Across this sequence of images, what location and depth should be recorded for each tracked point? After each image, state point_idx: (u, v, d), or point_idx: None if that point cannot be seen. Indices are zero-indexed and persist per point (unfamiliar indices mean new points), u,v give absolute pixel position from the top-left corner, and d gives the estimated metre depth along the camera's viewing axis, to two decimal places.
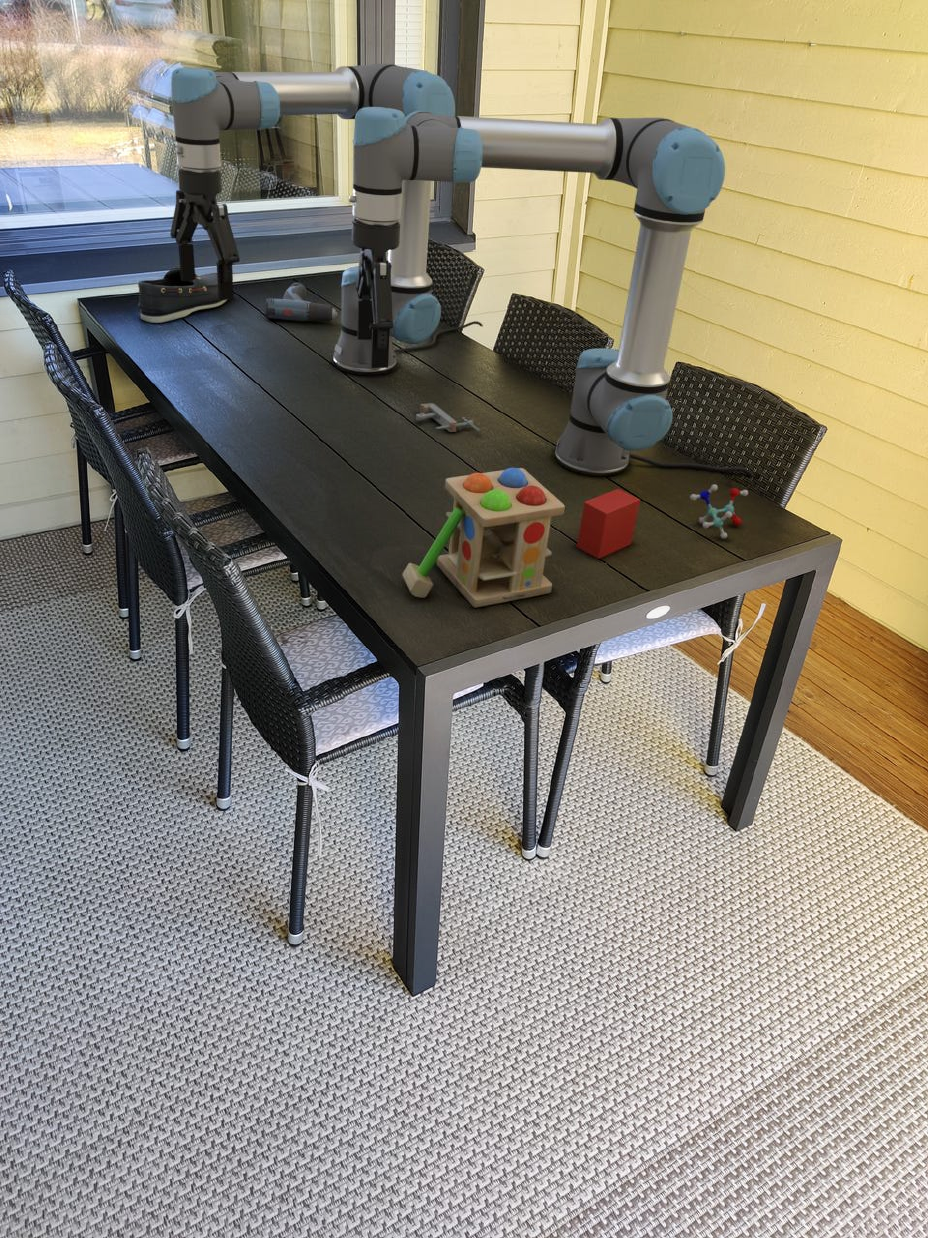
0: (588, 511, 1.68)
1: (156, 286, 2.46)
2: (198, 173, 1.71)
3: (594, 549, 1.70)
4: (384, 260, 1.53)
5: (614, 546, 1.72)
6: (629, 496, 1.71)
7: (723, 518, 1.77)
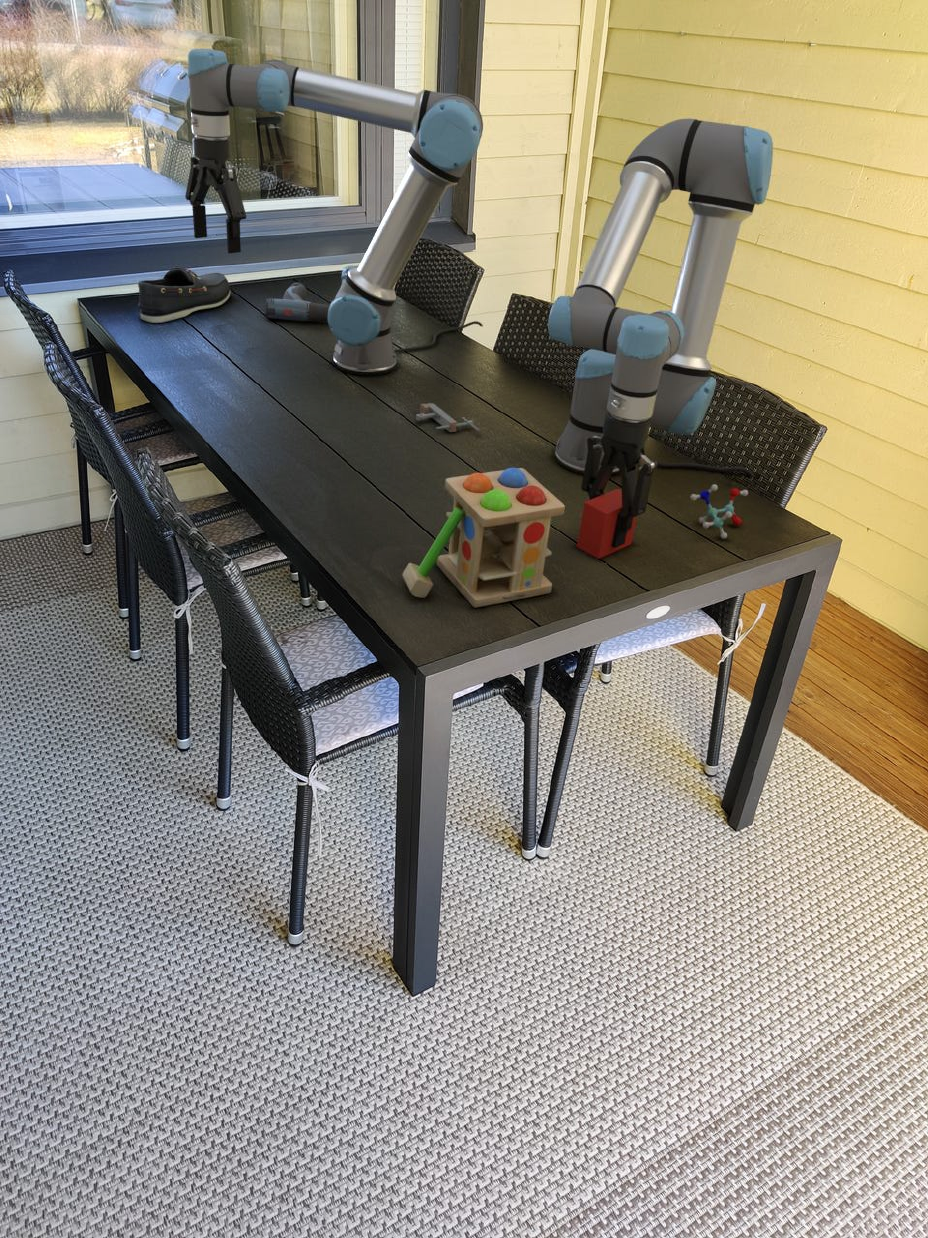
0: (588, 511, 1.68)
1: (156, 286, 2.46)
2: (211, 140, 1.97)
3: (594, 549, 1.70)
4: (644, 451, 1.61)
5: None
6: None
7: (723, 518, 1.77)
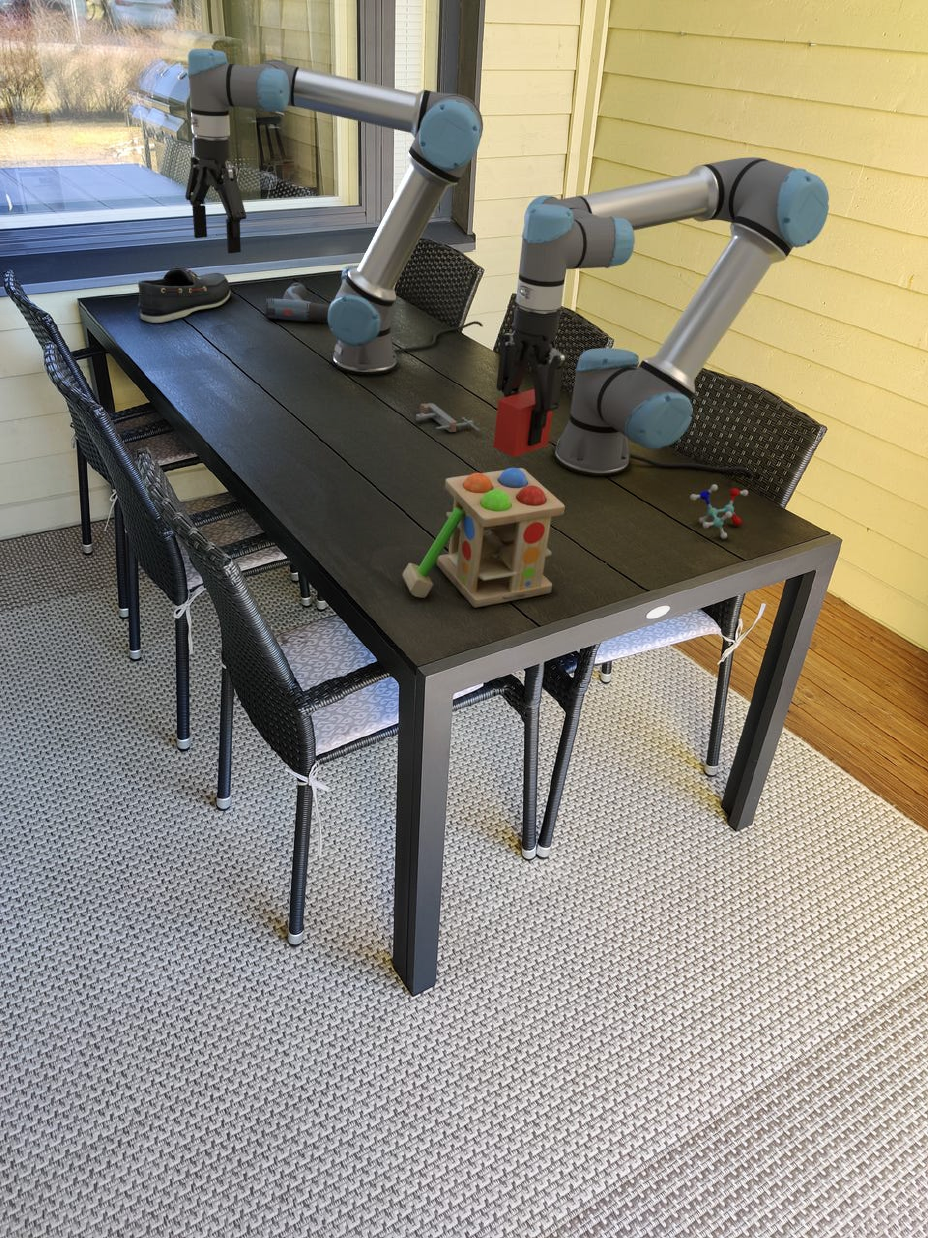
0: (502, 408, 1.69)
1: (156, 286, 2.46)
2: (211, 140, 1.97)
3: (510, 448, 1.71)
4: (554, 343, 1.62)
5: None
6: None
7: (723, 518, 1.77)
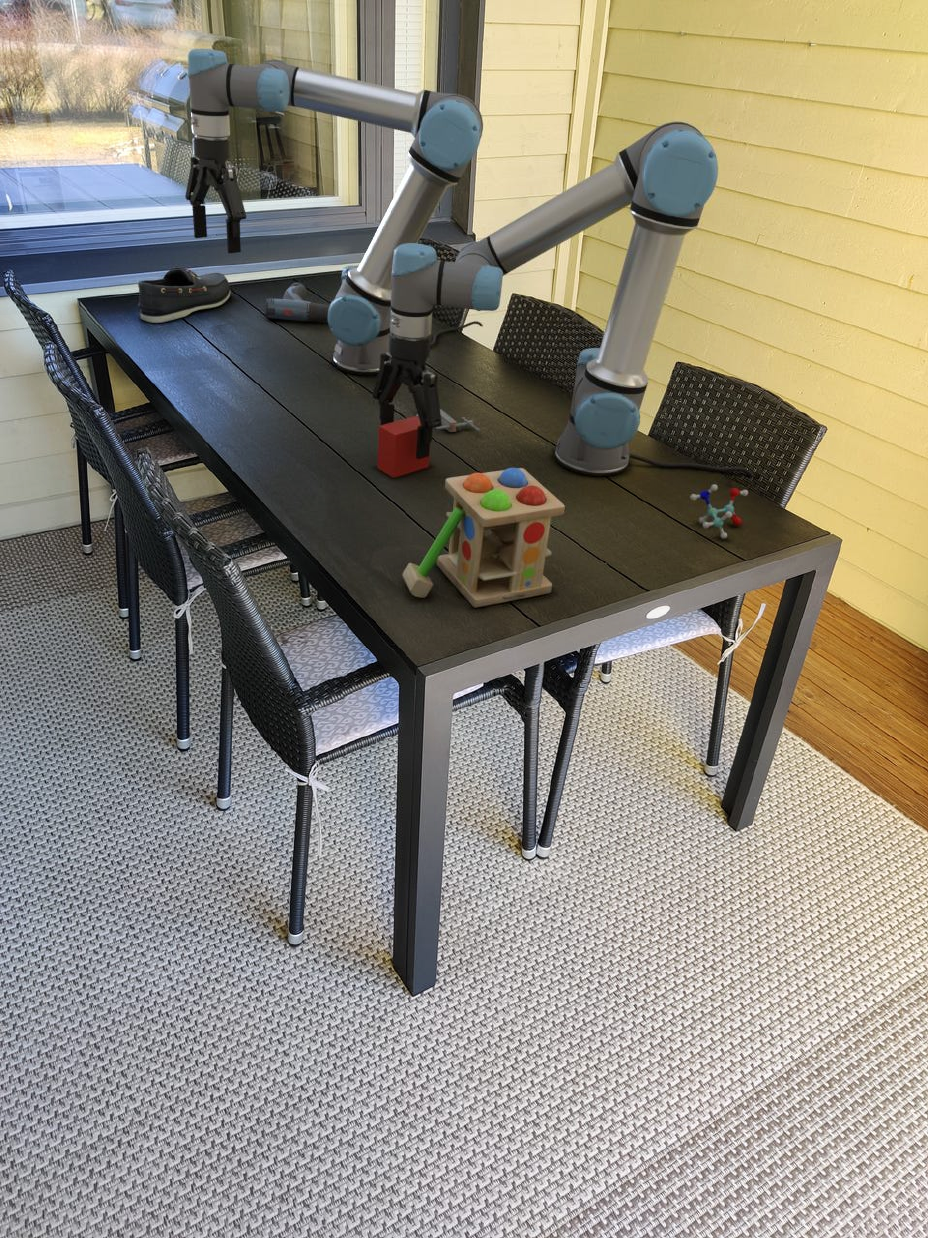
0: (382, 434, 1.87)
1: (156, 286, 2.46)
2: (211, 140, 1.97)
3: (390, 469, 1.89)
4: (425, 367, 1.79)
5: (410, 467, 1.91)
6: None
7: (723, 518, 1.77)
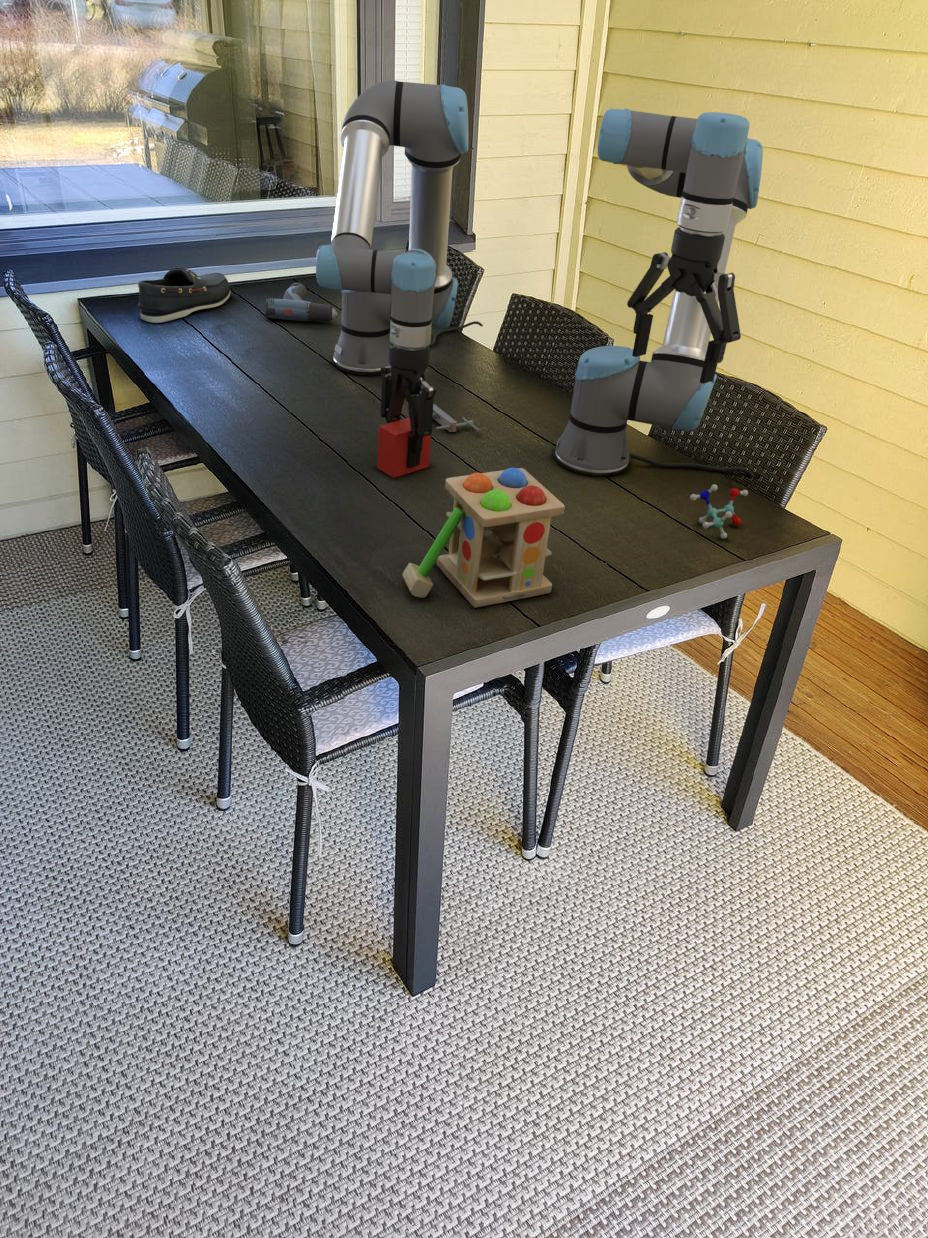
0: (382, 434, 1.87)
1: (156, 286, 2.46)
2: (412, 351, 1.77)
3: (390, 469, 1.89)
4: (717, 271, 1.47)
5: None
6: None
7: (723, 518, 1.77)
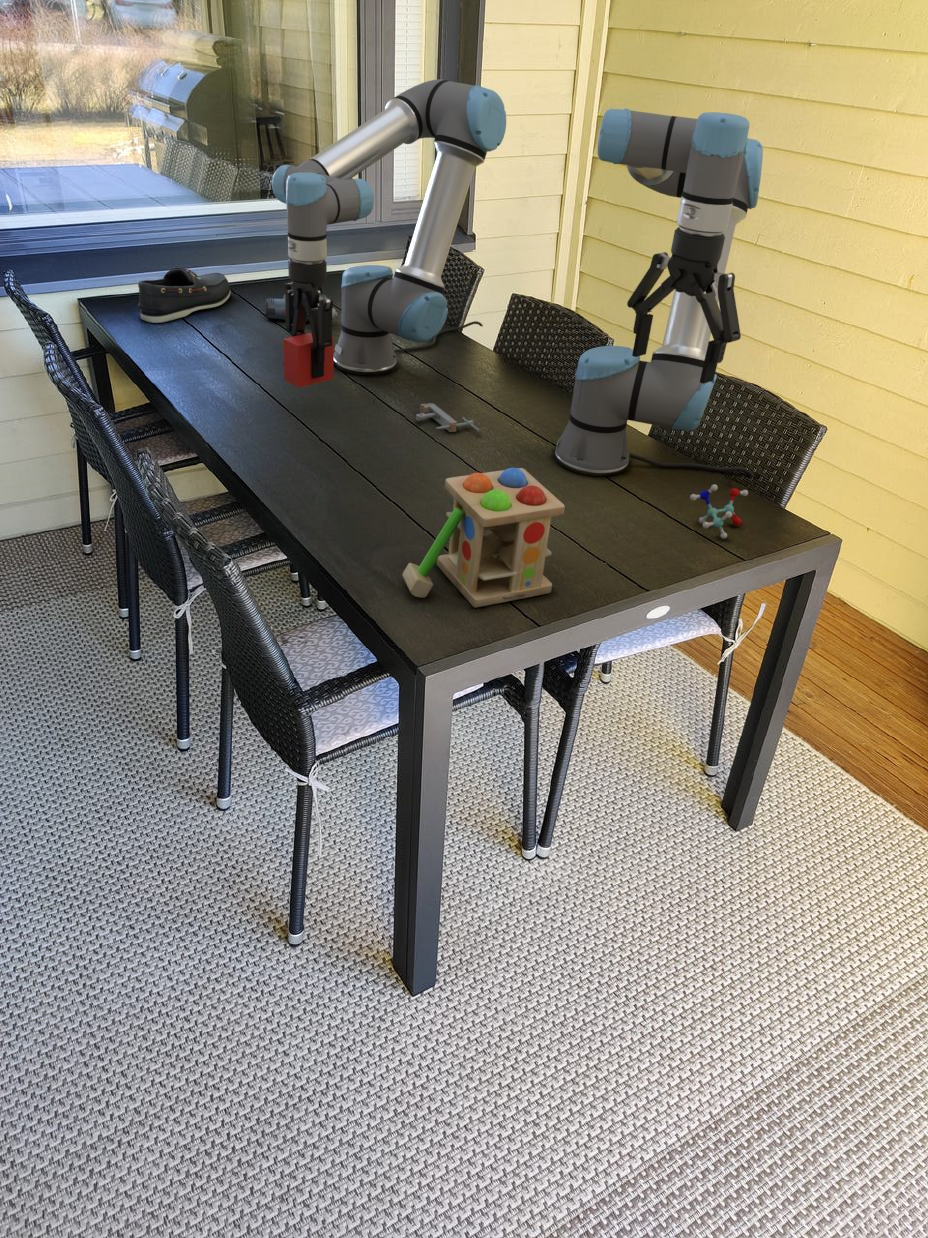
0: (286, 346, 2.01)
1: (156, 286, 2.46)
2: (309, 265, 1.91)
3: (295, 380, 2.03)
4: (717, 271, 1.47)
5: None
6: None
7: (723, 518, 1.77)
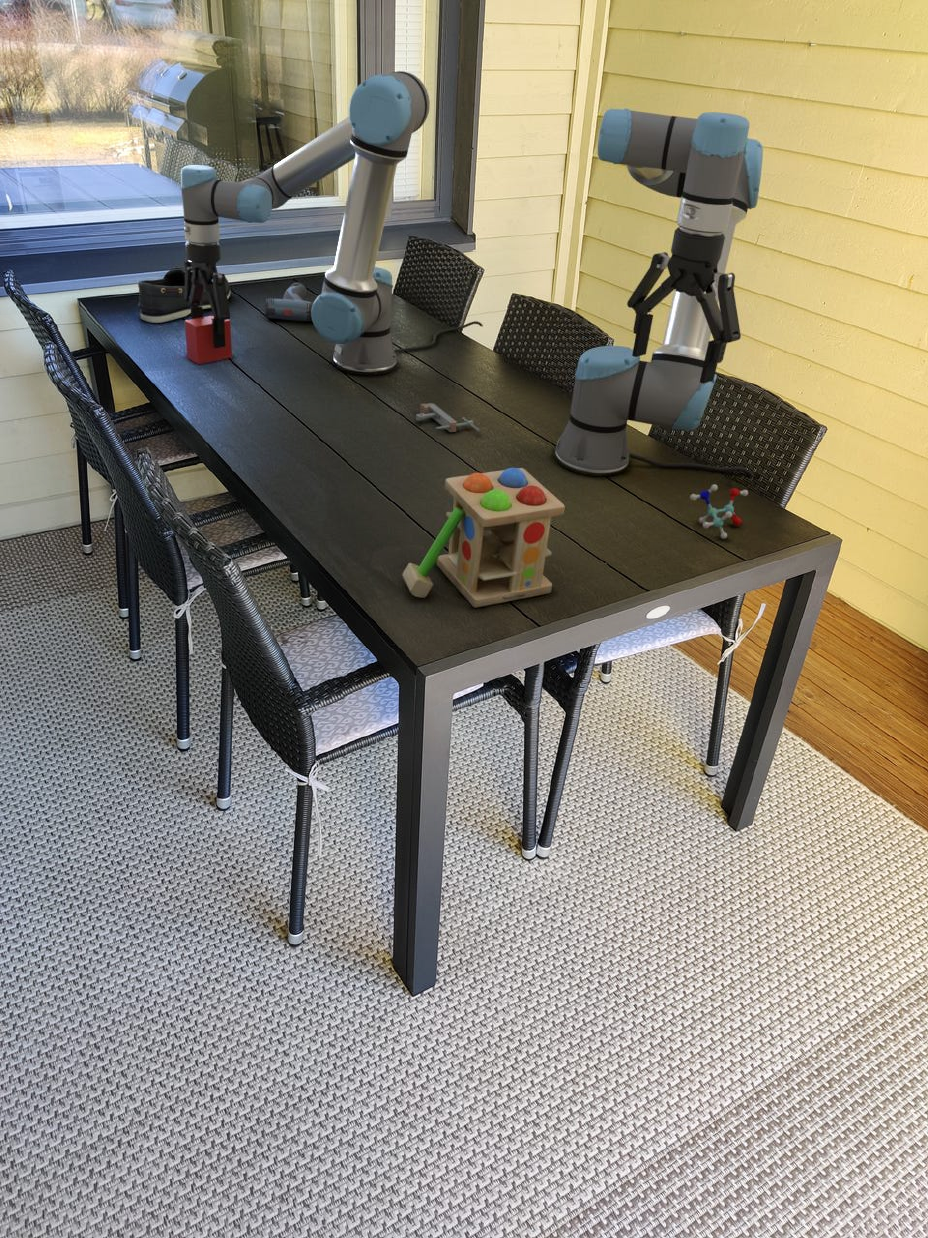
0: (187, 327, 2.27)
1: (156, 286, 2.46)
2: (202, 246, 2.16)
3: (195, 357, 2.29)
4: (717, 271, 1.47)
5: (213, 356, 2.31)
6: None
7: (723, 518, 1.77)
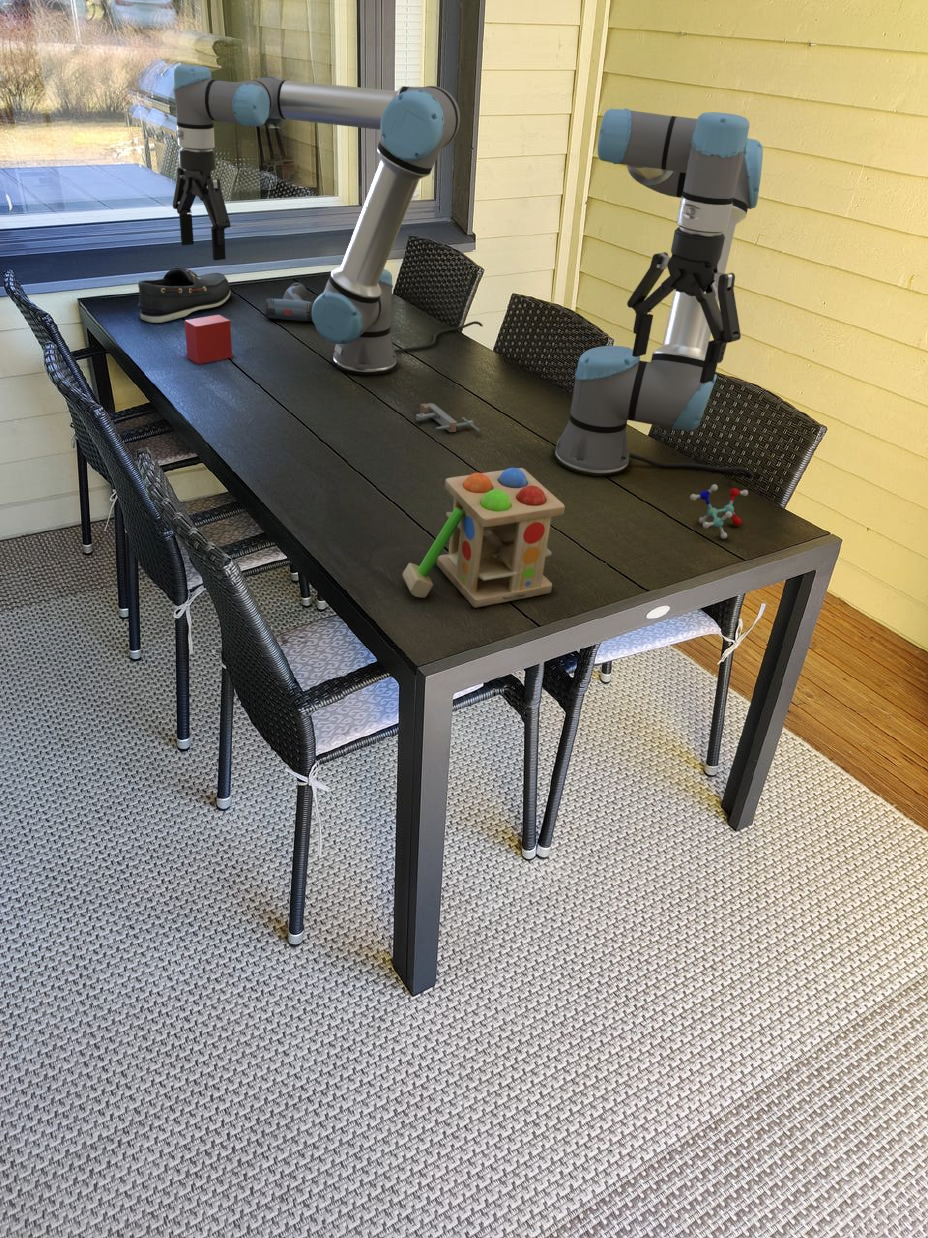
0: (187, 327, 2.27)
1: (156, 286, 2.46)
2: (196, 152, 2.06)
3: (195, 357, 2.29)
4: (717, 271, 1.47)
5: (213, 356, 2.31)
6: (223, 318, 2.31)
7: (723, 518, 1.77)
